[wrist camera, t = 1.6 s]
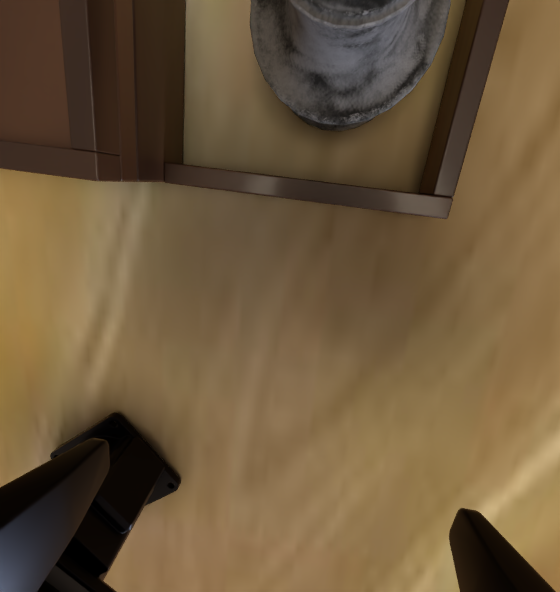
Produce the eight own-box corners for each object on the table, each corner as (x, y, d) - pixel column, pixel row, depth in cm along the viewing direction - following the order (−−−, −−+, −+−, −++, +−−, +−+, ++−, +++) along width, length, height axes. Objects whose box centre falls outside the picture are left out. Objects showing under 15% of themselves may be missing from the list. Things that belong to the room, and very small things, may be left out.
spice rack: (-40, 154, 16) (-240, 136, 10) (-98, -153, 13) (-456, -441, 7) (431, 214, 15) (504, 234, 9) (521, -121, 11) (749, -473, 5)
